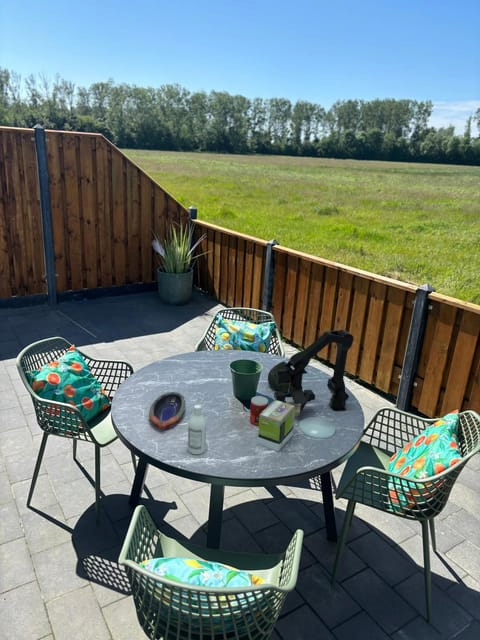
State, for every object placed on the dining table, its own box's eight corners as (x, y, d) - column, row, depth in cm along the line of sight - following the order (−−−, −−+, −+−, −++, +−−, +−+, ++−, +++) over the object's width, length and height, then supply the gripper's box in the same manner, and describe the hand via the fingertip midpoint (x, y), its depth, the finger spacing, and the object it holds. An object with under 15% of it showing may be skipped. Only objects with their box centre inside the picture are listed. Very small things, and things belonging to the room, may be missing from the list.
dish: (190, 400, 223) (190, 391, 222) (177, 435, 194) (177, 425, 193) (159, 397, 224) (159, 388, 223) (141, 432, 195) (141, 422, 194)
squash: (277, 389, 227) (293, 363, 230) (258, 378, 238) (273, 354, 241) (292, 400, 236) (306, 375, 239) (272, 390, 247) (286, 366, 250)
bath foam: (196, 442, 189) (197, 400, 183) (208, 449, 185) (210, 406, 179) (184, 450, 184) (185, 406, 178) (196, 457, 180) (197, 412, 174)
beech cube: (295, 410, 219) (296, 401, 217) (299, 416, 214) (300, 406, 212) (285, 411, 218) (286, 402, 216) (289, 416, 213) (290, 407, 211)
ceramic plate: (327, 418, 213) (327, 416, 213) (340, 437, 199) (341, 435, 198) (294, 420, 210) (294, 418, 210) (306, 440, 195) (306, 437, 195)
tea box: (272, 428, 203) (275, 398, 198) (293, 435, 198) (296, 405, 194) (256, 444, 191) (259, 413, 186) (278, 452, 186) (281, 420, 181)
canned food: (255, 427, 202) (256, 406, 199) (246, 419, 209) (247, 397, 206) (269, 424, 206) (271, 402, 202) (261, 415, 213) (262, 394, 209)
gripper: (281, 391, 201) (278, 422, 206) (321, 389, 205) (317, 419, 210) (274, 379, 211) (272, 409, 216) (312, 378, 215) (309, 407, 220)
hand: (292, 411), depth 215 cm, fingers open, 8 cm apart
